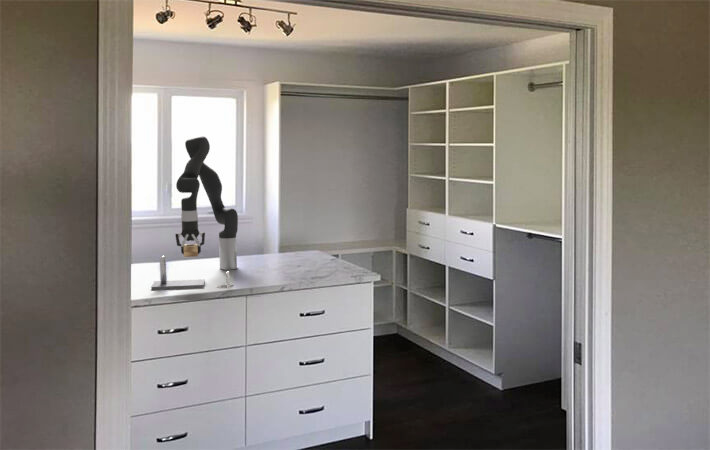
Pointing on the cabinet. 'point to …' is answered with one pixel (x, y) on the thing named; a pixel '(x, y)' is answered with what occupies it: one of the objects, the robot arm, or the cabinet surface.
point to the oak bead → (190, 250)
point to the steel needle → (163, 270)
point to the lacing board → (178, 284)
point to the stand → (227, 282)
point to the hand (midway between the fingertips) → (191, 253)
